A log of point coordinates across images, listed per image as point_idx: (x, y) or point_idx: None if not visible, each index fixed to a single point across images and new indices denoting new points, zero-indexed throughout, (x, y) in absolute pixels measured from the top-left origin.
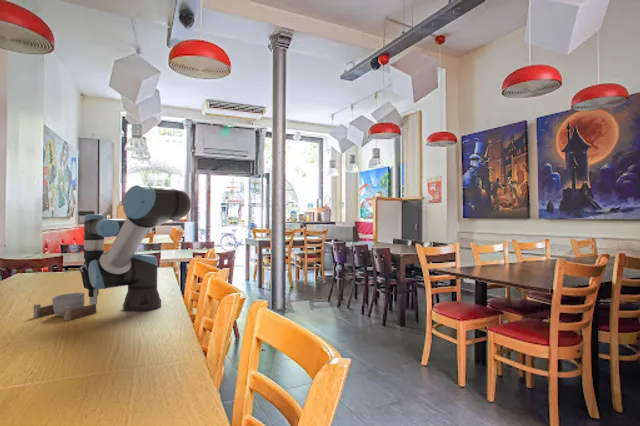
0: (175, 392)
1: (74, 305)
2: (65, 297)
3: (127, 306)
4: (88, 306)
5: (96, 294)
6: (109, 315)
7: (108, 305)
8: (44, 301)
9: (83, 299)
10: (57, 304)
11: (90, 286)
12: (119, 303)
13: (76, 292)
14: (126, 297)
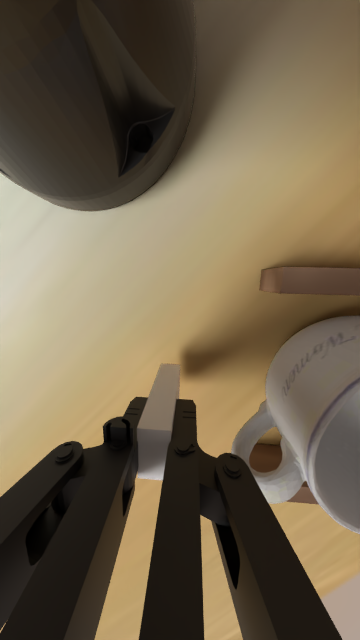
0: None
1: None
2: (336, 493)
3: (193, 67)
4: (348, 268)
5: (157, 396)
6: (302, 136)
7: (111, 336)
8: (142, 607)
9: (358, 339)
10: None
11: (220, 475)
12: (58, 316)
13: (279, 497)
14: (149, 47)
